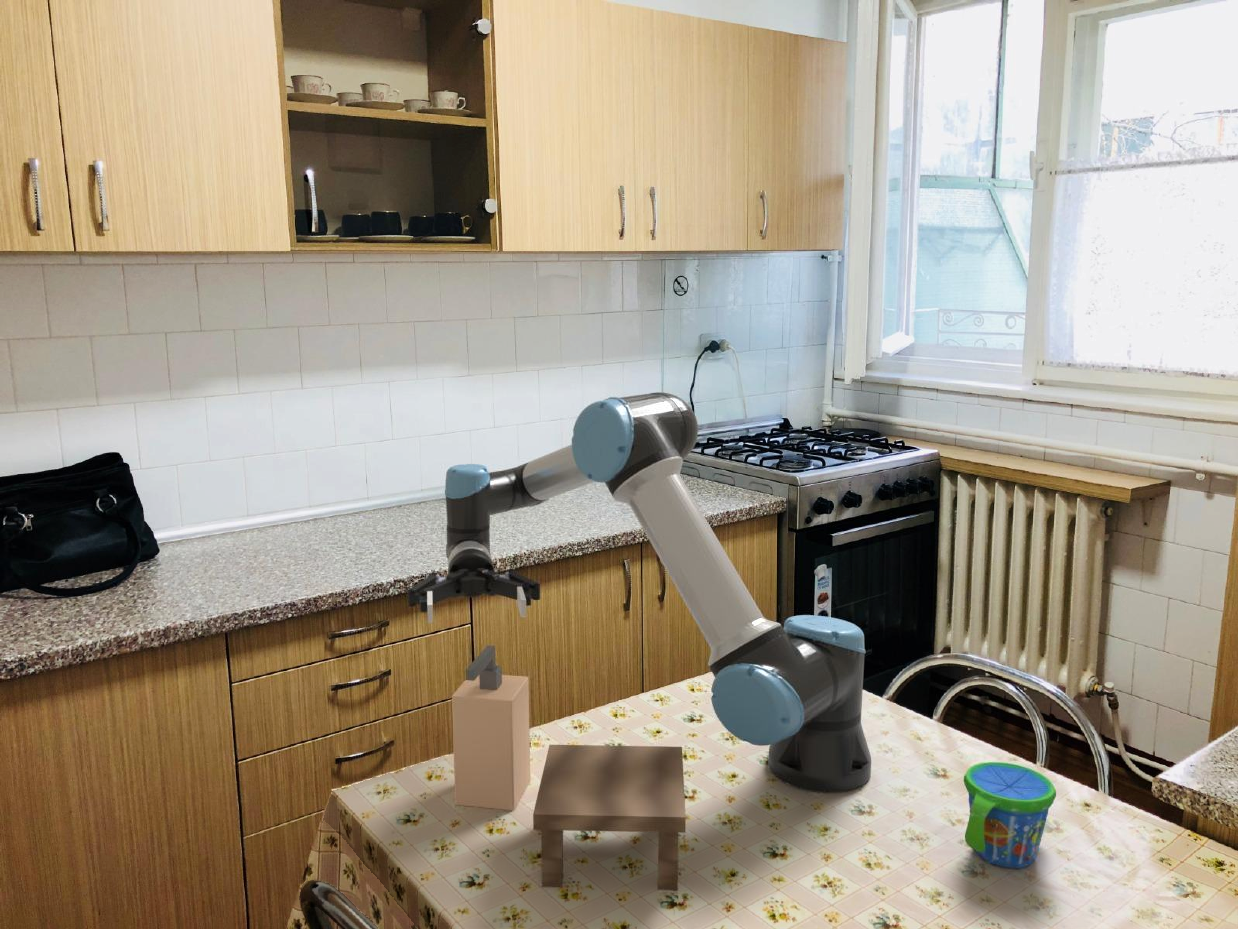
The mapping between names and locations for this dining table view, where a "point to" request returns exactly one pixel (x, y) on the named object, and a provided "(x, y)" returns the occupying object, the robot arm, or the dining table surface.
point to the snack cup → (1007, 812)
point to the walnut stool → (611, 800)
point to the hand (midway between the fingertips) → (477, 611)
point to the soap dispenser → (491, 736)
